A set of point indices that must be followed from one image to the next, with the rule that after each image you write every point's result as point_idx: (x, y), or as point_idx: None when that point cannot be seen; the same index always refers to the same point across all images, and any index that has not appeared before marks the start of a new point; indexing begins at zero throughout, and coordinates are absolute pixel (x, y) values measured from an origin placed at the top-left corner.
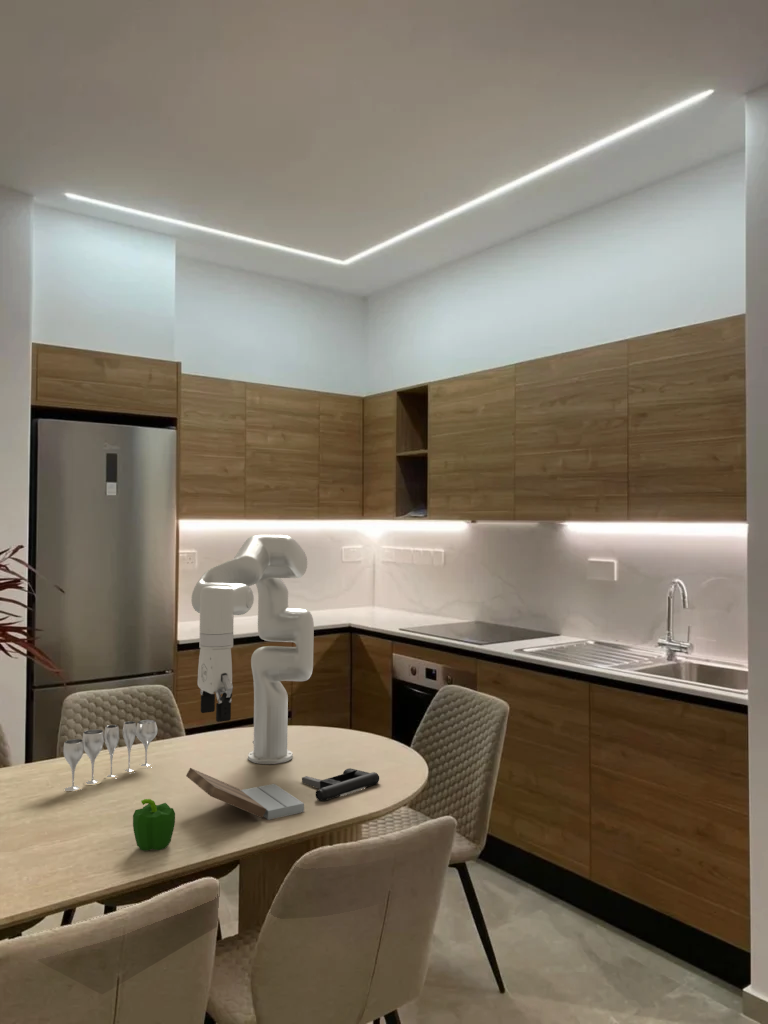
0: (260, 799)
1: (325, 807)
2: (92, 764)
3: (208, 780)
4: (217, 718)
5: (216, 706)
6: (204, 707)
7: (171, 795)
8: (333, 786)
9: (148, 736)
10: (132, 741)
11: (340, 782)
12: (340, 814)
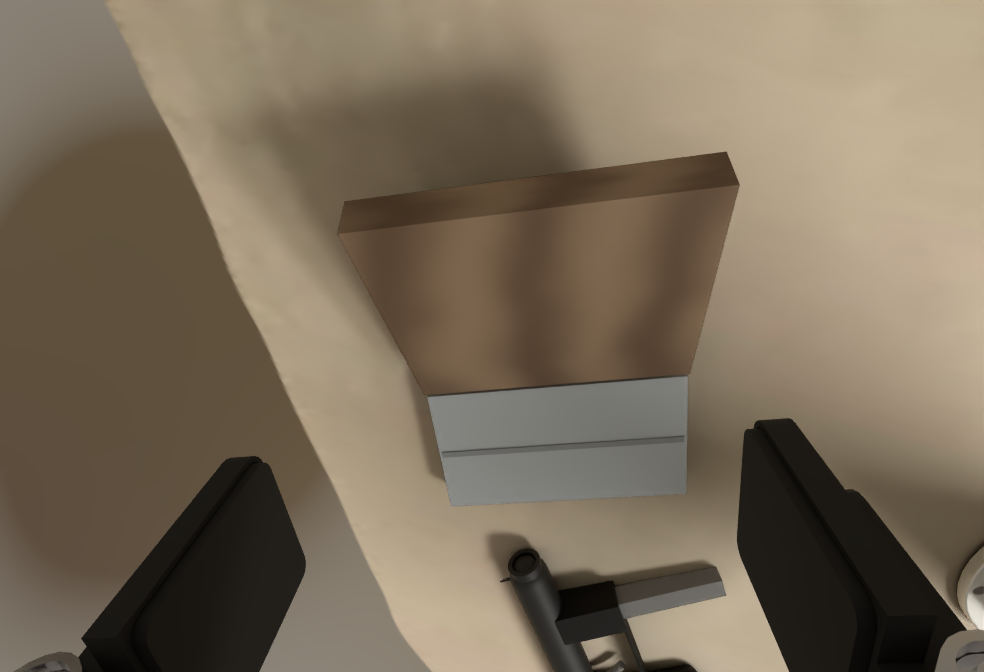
0: (549, 408)
1: (467, 544)
2: None
3: (503, 235)
4: (216, 481)
5: (140, 595)
6: (766, 491)
7: (905, 107)
8: (532, 615)
9: None
10: None
11: (554, 641)
12: (399, 554)
